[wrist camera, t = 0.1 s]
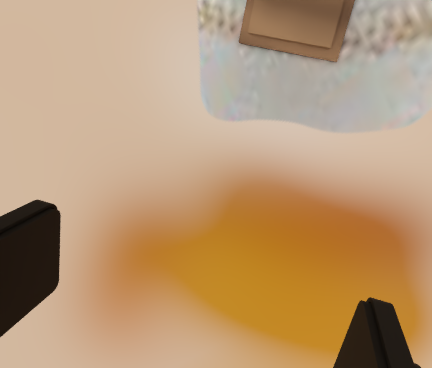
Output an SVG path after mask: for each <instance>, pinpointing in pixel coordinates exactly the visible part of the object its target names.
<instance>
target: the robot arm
mask: <svg viewBox="0 0 432 368" xmlns="http://www.w3.org/2000/svg"><path fill="white" fill-rule="evenodd" d="M59 256H60V212H59V211H58V210H57V207H56V206H55V205H54V204H51V203H48V202H44V201H41V200H35V201H32V202H30V203H28V204H26V205H24V206H22V207H20V208H17V209H15V210H13V211H11V212H9V213H7V214H5V215H3V216H0V337H1V336H2V335H3V334H5V333H6V332H7V331H8V330H9V329H10V328H12V327H13V326H14V325H15V324H16V323H17V322H19V321H20V320H21V319H22V318H23V317H24V316H25V315H27V314H28V313H29V312H30V311H31V310H32V309H33V308H35V307H36V306H37V305H38V304H39V303H41V302H42V301H43V300H44V299H45V298H46V297H47V296H49V295H50V294H51V293H52V292H53V291H54V290H55V289H56V287H57V285H58V282H59ZM333 368H421V367H420V366H419V365H417V364H415V363H414V362H413V360H412V357H411V354H410V351H409V349H408V346H407V343H406V340H405V337H404V334H403V332H402V329H401V326H400V323H399V321H398V318H397V315H396V312H395V309H394V306H393V305H392V304H391V303H387V302H384V301H381V300H377V299H374V298H368V300H367V301H366V302H365V301H362V300H361V301H360V302H359V304H358V306H357V309H356V311H355V314H354V316H353V319H352V321H351V324H350V326H349V329H348V331H347V334H346V337H345V339H344V342H343V344H342V347H341V349H340V352H339V354H338V357H337V359H336V362H335V364H334V367H333Z"/></svg>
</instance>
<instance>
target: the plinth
mask: <svg viewBox="0 0 432 368" xmlns="http://www.w3.org/2000/svg"><path fill="white" fill-rule="evenodd" d="M354 2H355V0H247V3H246V8H245V13H244V18H243V23H242V28H241V33H240V39H239V43H241V44H247V45H252V46H257V47H262V48H267V49H272V50H277V51H282V52H288V53H293V54H298V55H303V56H308V57H313V58H318V59H324V60H329V61H334V62H337V59H338V56H339V53H340V49H341V46H342V42H343V39H344V36H345V32H346V29H347V25H348V22H349V19H350V15H351V12H352V8H353V5H354Z"/></svg>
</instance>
